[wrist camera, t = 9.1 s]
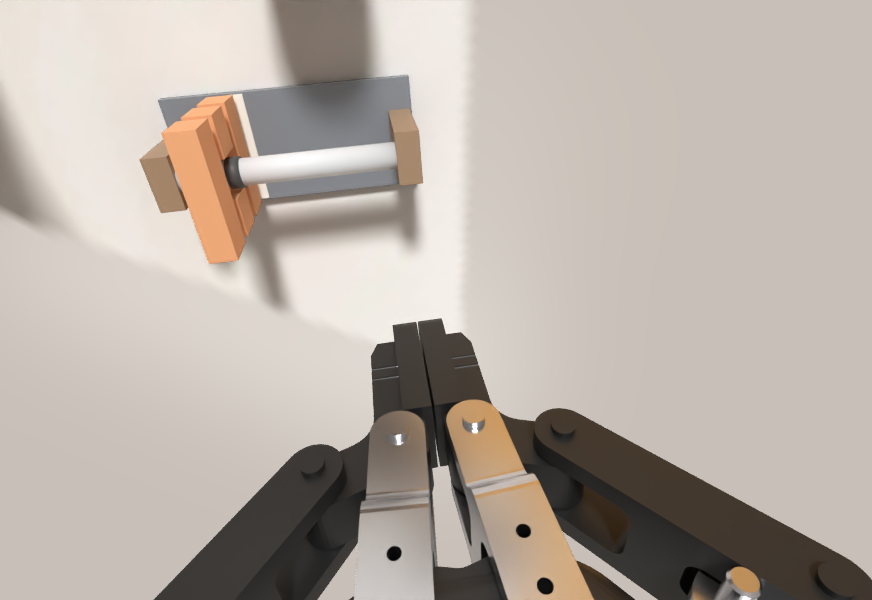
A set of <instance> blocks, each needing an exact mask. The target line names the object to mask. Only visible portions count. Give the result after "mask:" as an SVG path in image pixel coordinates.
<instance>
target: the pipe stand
mask: <svg viewBox="0 0 872 600" xmlns="http://www.w3.org/2000/svg"><path fill="white" fill-rule="evenodd" d="M225 95H233V99H234V103H235V106H236V110H237V113H238V117H239V121H240V124H241V128H242V132H243V135H244V139H245V142H246V146H247V150H248V153H249V157H247V158H242V157H241V156H236V157H226V158H225V159H224V160H221V163H222V166H223V170H224V173H225V176H226V179H227V183H228V186H229V187H230V188H231V189H239V188H247V186H248V185H256V184H257V186H258V189H259V193H260V197H261V199H269V198H278V197H287V196H296V195H304V194H313V193H322V192H331V191H339V190H348V189H357V188H366V187H375V186H383V185H392V184H400V186H403V185H411V184H420V183H423V176H422V164H421V152H420V140H419V130H418V128H417V125H416V123H415V121H414V118H413V116H412V110H411V99H410V87H409V76H408V75H400V76H390V77H380V78H369V79H359V80H348V81H338V82H327V83H317V84H306V85H296V86H286V87H275V88H265V89H254V90H244V91H233V92H223V93H212V94H202V95H192V96H181V97H171V98H161V99H159V100H158V102H159V105H160V108H161V111H162V113H163V116H164V119H165V122H166V125H167V127H168V128H169V127H170V126H171V125H172V124H174V123H175V122H176V121H181V117H182V116H184V115H185V114H186V113H187V112H189V111H190V110H191V109H192V108H197V106H196V105H197V104H199V103H200V102H201V101H202V100H204V99H205V98H206V97H215V96H225ZM140 162H141V165H142V167H143V170H144V172H145V175H146V177H147V180H148V182H149V185H150V187H151V190H152V192H153V195H154V197H155V200H156V202H157V205H158V207H159V210H160V212H161V213H166V212H175V211H183V210H186V209H187V208H188V205H187V202H186V200H185V197H184V194H183V191H182V189H181V186H180V183H179V180H178V178H177V175H176V172H175V169H174V167H173V164H172V161H171V159H170V156H169V153H168V150H167V148H166V145H165V142H164V139H163V140H162V141H161V142H160V143H159V144H157V145H156V146H155V147H154V148H153V149H151V150H150V151H149V152H148V153H147V154H146V155H144V156H143V157H142V158H141V159H140Z"/></svg>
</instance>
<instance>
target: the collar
mask: <svg viewBox="0 0 872 600" xmlns="http://www.w3.org/2000/svg"><path fill="white" fill-rule="evenodd" d="M196 106H197V108H192V109H191V110H190V111H189V112H187V113H186V114H185V115H184V116H182V117H181V121H176V122H175V123H174V124H172V125H171V126H170V127H169V128H167V129H166V130H165V131H164V132H162V133H161V134H162V137H163V139H164V142H165V145H166V148H167V150H168V153H169V156H170V159H171V161H172V164H173V167H174V169H175V172H176V175H177V178H178V180H179V183H180V186H181V189H182V191H183V194H184V197H185V200H186V202H187V205H188V208H189V210H190V213H191V216H192V219H193V221H194V224H195V227H196V230H197V232H198V235H199V238H200V240H201V243H202V246H203V249H204V251H205V254H206V257H207V260H208V262H209V264H213V263H221V262H229V261H237V260H239V257H240V255H241V252H242V250H243V247H244V245H245V242H246V241H245V237H244V236H248V235H249V233H250V230H251V228H252V225H253V223H254V217H253V216H256V215H257V213H258V211H259V208H260V206H261V203H262V200H261V197H260V193H259V189H258V186H257V184H256V185H248V186H247V188H239V189H231V188H230V187H229V186H228V183H227V179H226V176H225V173H224V170H223V166H222V163H221V160H224V159H225V158H226V157H236V156H241V157H242V158H247V157H249V153H248V150H247V146H246V142H245V139H244V135H243V132H242V128H241V124H240V121H239V117H238V113H237V110H236V106H235V103H234V99H233V95H225V96H215V97H206V98H205V99H204V100H202V101H201V102H200V103H199V104H197V105H196Z"/></svg>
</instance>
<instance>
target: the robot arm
mask: <svg viewBox="0 0 872 600" xmlns="http://www.w3.org/2000/svg"><path fill="white" fill-rule="evenodd" d="M418 328H419V334H418V329H417V324H416V322H412V323H405V324H398V325H393V332H394V341H395V342H389V343H382V344H377V346H376V348H375V350H374V352H373V353H372V355H371V366H372V385H373V406H374V424H373V425H372V428H371V430H370V432H369V434H368V435H367V436H366V437H365V438H364V439H363V440H361V441H360V442H358V443H357V444H355V445H353V446H351V447H349V448H347V449H344V450H342V451H340V452H339V451H338V450H337V449H335V448H333V447H332V446H329V445H324V444H323V445H322V444H318V445H312V446H308V447H306V448H304V449H302V450H300V451H298V452H297V453H295V454H294V455H293V456H292V457H291V458H290V459H289V460H288V461H287V462H286V463H285V464H284V465H283V466H282V467H281V468H280V469H279V471H278V472H277V473H276V474H275V475H274V476H273V477H272V478H271V479H270V480H269V481H268V482H267V483H266V484H265V485H264V486H263V487H262V488H261V489H260V490H259V491H258V492H257V493H256V494H255V495H254V496H253V498H252V499H251V500H250V501H249V502H248V503H247V504H246V505H245V506H244V507H243V508H242V509H241V510H240V511H239V512H238V513H237V514H236V515H235V516H234V517H233V518H232V519H231V521H229V522H228V523H227V524H226V525H225V526H224V527H223V529H222V530H221V531H220V532H219V533H218V534H217V535H216V536H215V537H214V538H213V539H212V540H211V541H210V542H209V543H208V544H207V545H206V546H205V547H204V548H203V549H202V550H201V551H200V552H199V553H198V554H197V555H196V557H195V558H194V559H193V560H192V561H191V562H190V563H189V564H188V565H187V566H186V567H185V568H184V569H183V570H182V571H181V572H180V573H179V574H178V575H177V576H176V577H175V578H174V579H173V581H171V582H170V583H169V584H168V586H167V587H166V588H165V589H164V590H163V591H162V592H161V593H160V594H159V595H158V596H157V597H156V598H155V599H154V600H317V599H318V598H319V596H320V595H321V594H322V592H323V591H324V590H325V588H326V587H327V585H328V584H329V582H330V581H331V580H332V578H333V577H334V576H335V574H336V573H337V571H338V570H339V568H340V567H341V566H342V564H343V563H344V562H345V560H346V558H347V557H348V556H349V555H350V553H351V552H352V550H353V549H354V548H355V546H356V544H357V543H358V548H357V563H356V577H355V591H354V597H352V598H351V599H350V600H635V599H634V598H632V597H631V596H630V595H628V594H627V593H626V592H624V591H623V590H622V589H621V588H620V587H618V586H617V585H616V584H614V583H613V582H612V581H611V580H609V579H608V578H607V577H605V576H604V575H603V574H601V573H599V572H598V571H596V570H595V569H593V568H591V567H590V566H587V565H585V564H583V563H581V562H579V561H576V560H575V558H574V556H573V554H572V551H571V550H570V547H569V545H568V543H567V541H566V539H565V537H564V534H563V532H564V533H566V534H567V535H569V536H570V537H572V538H573V539H574V540H576V541H577V542H578V543H580V544H581V545H583V546H584V547H585V548H587V549H588V550H589V551H591V552H592V553H594V554H595V555H596V556H598V557H599V558H601V559H602V560H603V561H605V562H606V563H608V564H609V565H610V566H612V567H613V568H615V569H616V570H617V571H619V572H620V573H622V574H623V575H625V576H626V577H627V578H629V579H630V580H631V581H633V582H634V583H636V584H637V585H638V586H640V587H641V588H643V589H644V590H645V591H647V592H648V593H650V594H651V595H652V596H654V597H655V598H657V599H658V600H872V580H871V578H870V577H869V576H868V575H867V574H866V573H865V572H864V571H863V570H862V569H861V568H859V567H858V566H857V565H856V564H854V563H853V562H852V561H850V560H849V559H847V558H845V557H844V556H842V555H840V554H838V553H836V552H835V551H832V550H831V549H829V548H827V547H825V546H823V545H821V544H820V543H818V542H816V541H814V540H812V539H810V538H808V537H807V536H805V535H803V534H801V533H799V532H797V531H795V530H794V529H792V528H790V527H788V526H786V525H784V524H783V523H781V522H779V521H777V520H775V519H773V518H771V517H769V516H767V515H766V514H764V513H762V512H760V511H758V510H756V509H755V508H753V507H751V506H749V505H747V504H745V503H744V502H742V501H740V500H738V499H736V498H734V497H733V496H731V495H729V494H727V493H725V492H723V491H721V490H720V489H718V488H716V487H714V486H712V485H710V484H708V483H706V482H705V481H703V480H701V479H699V478H697V477H695V476H694V475H692V474H690V473H688V472H686V471H684V470H682V469H680V468H679V467H676V466H675V465H673V464H671V463H669V462H668V461H666V460H664V459H662V458H660V457H658V456H656V455H655V454H653V453H651V452H649V451H647V450H645V449H643V448H642V447H640V446H638V445H636V444H634V443H632V442H630V441H628V440H627V439H625V438H623V437H621V436H619V435H617V434H616V433H614V432H612V431H610V430H608V429H606V428H604V427H602V426H601V425H599V424H597V423H595V422H593V421H591V420H589V419H588V418H586V417H584V416H582V415H580V414H578V413H576V412H574V411H572V410H568V409H561V408H557V409H550V410H547V411H545V412H543V413H541V414H540V415H539V416H538V417H537V419H536V421H527V420H518V419H513V418H510V417H507V416H505V415H503V414H502V413H500V412H499V411H498V410H497V409H496V408H495V407H494V406H493V405H492V403H491V401H490V398H489V395H488V392H487V389H486V386H485V383H484V380H483V377H482V374H481V371H480V368H479V366H478V362H477V359H476V356H475V353H474V349H473V346H472V343H471V341H470V340H468V339H467V338H466V337H465V336H464V335H463V334H462V333H461V332H460V333H452V334H446V333H445V329H444V325H443V322H442V319H433V320H426V321H419V322H418ZM419 338H420V340H419ZM435 440H436V444H435ZM436 445H437V451H438V457H439V462H440V466H446V465H448V466H449V471H450V476H451V487H452V493H453V497H454V501H455V504H456V508H457V511H458V515H459V518H460V522H461V525H462V529H463V532H464V536H465V539H466V543H467V546H468V550H469V553H470V557H471V562H472V564H471V565H469V566H467V567H464V568H448V567H438V566H437V553H436V537H435V523H434V510H433V509H434V508H433V495H432V491H433V487H434V481H433V472H432V468H435V467H438V464H437V454H436ZM562 531H563V532H562Z"/></svg>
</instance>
